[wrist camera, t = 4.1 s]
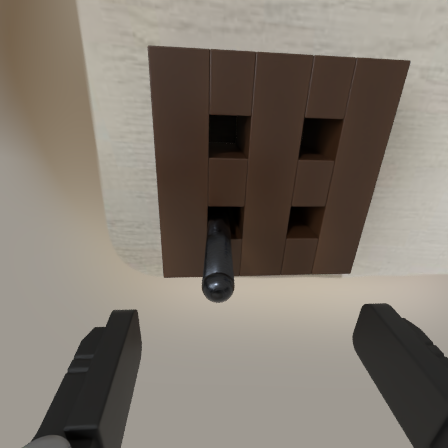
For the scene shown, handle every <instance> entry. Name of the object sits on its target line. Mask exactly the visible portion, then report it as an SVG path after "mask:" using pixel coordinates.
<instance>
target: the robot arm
mask: <svg viewBox="0 0 448 448" xmlns="http://www.w3.org/2000/svg"><path fill="white" fill-rule="evenodd" d="M353 345H354V348H355V351H356V353H357V355H358V356H359V358H360V360H361V361H362V363H363V365H364V366H365V368H366V370H367V371H368V373H369V375H370V376H371V378H372V379H373V381H374V383H375V384H376V386H377V388H378V389H379V391H380V393H381V394H382V396H383V398H384V399H385V401H386V403H387V404H388V406H389V407H390V409H391V411H392V412H393V414H394V416H395V417H396V419H397V421H398V422H399V424H400V426H401V427H402V428H403V430H404V432H405V434H406V436H407V437H408V439H409V440H410V442H411V444H412V445H413V447H414V448H448V358H447V357H444V354H443V353H442V352H441V351H440V349H439V348H438V347H437V346H436V345H433V342H432V341H431V340H430V339H429V338H428V337H427V336H426V335H425V333H424V332H423V331H421V329H420V328H418V327H417V326H415V325H414V324H412V323H411V322H409V321H408V320H406V319H405V318H401V317H400V315H399V314H398V313H397V312H396V311H395V310H394V309H393V308H392V307H391V306H390V305H388V304H386V303H383V304H364V305H363V306H362V308H361V311H360V314H359V318H358V321H357V323H356V326H355V329H354V333H353ZM141 351H142V341H141V334H140V327H139V319H138V312H137V310H113V311H112V313H111V315H110V317H109V320H108V322H107V325H106V327H95V328H94V329H93V330H92V331H91V332H90V333H89V334H88V335H87V336H86V337H85V338H84V339H83V340H82V341H81V343H80V345H79V347H78V350H77V352H76V354H75V356H74V360H72V362H71V364H70V366H69V368H68V372H67V373H66V374H65V376H64V378H63V380H62V382H61V385H60V387H59V389H58V391H57V393H56V395H55V397H54V399H53V401H52V403H51V405H50V407H49V410H48V411H47V414H46V416H45V418H44V420H43V422H42V424H41V426H40V428H39V430H38V432H37V434H36V435H35V437H34V438H33V439H32V441H31V442H30V443H28V444H27V445H25V446H24V447H23V448H121V443H122V439H123V435H124V431H125V426H126V421H127V417H128V413H129V409H130V404H131V399H132V395H133V391H134V386H135V382H136V378H137V373H138V369H139V364H140V360H141Z"/></svg>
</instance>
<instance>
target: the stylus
mask: <svg viewBox="0 0 448 448" xmlns="http://www.w3.org/2000/svg"><path fill="white" fill-rule="evenodd" d="M202 291H203V293H204V295H205V296H206V298H207V299H208V300H210V301H212V302H216V303H220V302H224V301H226V300H228V299H229V298H230V297H231V295H232V293H233V291H234V273H233V260H232V247H231V234H230V221H229V208H228V206H209V216H208V226H207V237H206V247H205V258H204V268H203V280H202Z"/></svg>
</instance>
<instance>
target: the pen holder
mask: <svg viewBox="0 0 448 448" xmlns="http://www.w3.org/2000/svg"><path fill="white" fill-rule="evenodd" d="M148 58H149V73H150V87H151V102H152V116H153V130H154V145H155V159H156V173H157V188H158V202H159V216H160V231H161V245H162V259H163V274H164V278H172V277H203V268H204V258H205V247H206V237H207V226H208V216H209V206H228V208H229V221H230V234H231V247H232V260H233V273H234V276H239V275H240V276H260V275H280V274H281V275H301V274H350V273H351V269H352V266H353V262H354V259H355V255H356V252H357V248H358V245H359V241H360V238H361V234H362V230H363V227H364V223H365V220H366V216H367V213H368V209H369V206H370V202H371V199H372V195H373V192H374V188H375V185H376V181H377V178H378V174H379V171H380V167H381V164H382V160H383V157H384V153H385V150H386V146H387V143H388V139H389V136H390V132H391V129H392V125H393V122H394V118H395V115H396V111H397V108H398V104H399V101H400V97H401V94H402V90H403V86H404V83H405V79H406V76H407V72H408V69H409V65H410V62H411V61H408V60H391V59H374V58H355V57H338V56H321V55H314V56H313V55H304V54H287V53H269V52H252V51H235V50H218V49H201V48H183V47H166V46H148ZM209 114H210V115H231V116H237V122H236V141H235V143H223V142H209ZM304 118H305V124H304V130H303V123H304ZM302 130H303V137H302V143H301V136H302ZM300 143H301V145H300ZM291 206H292V207H291Z"/></svg>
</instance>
